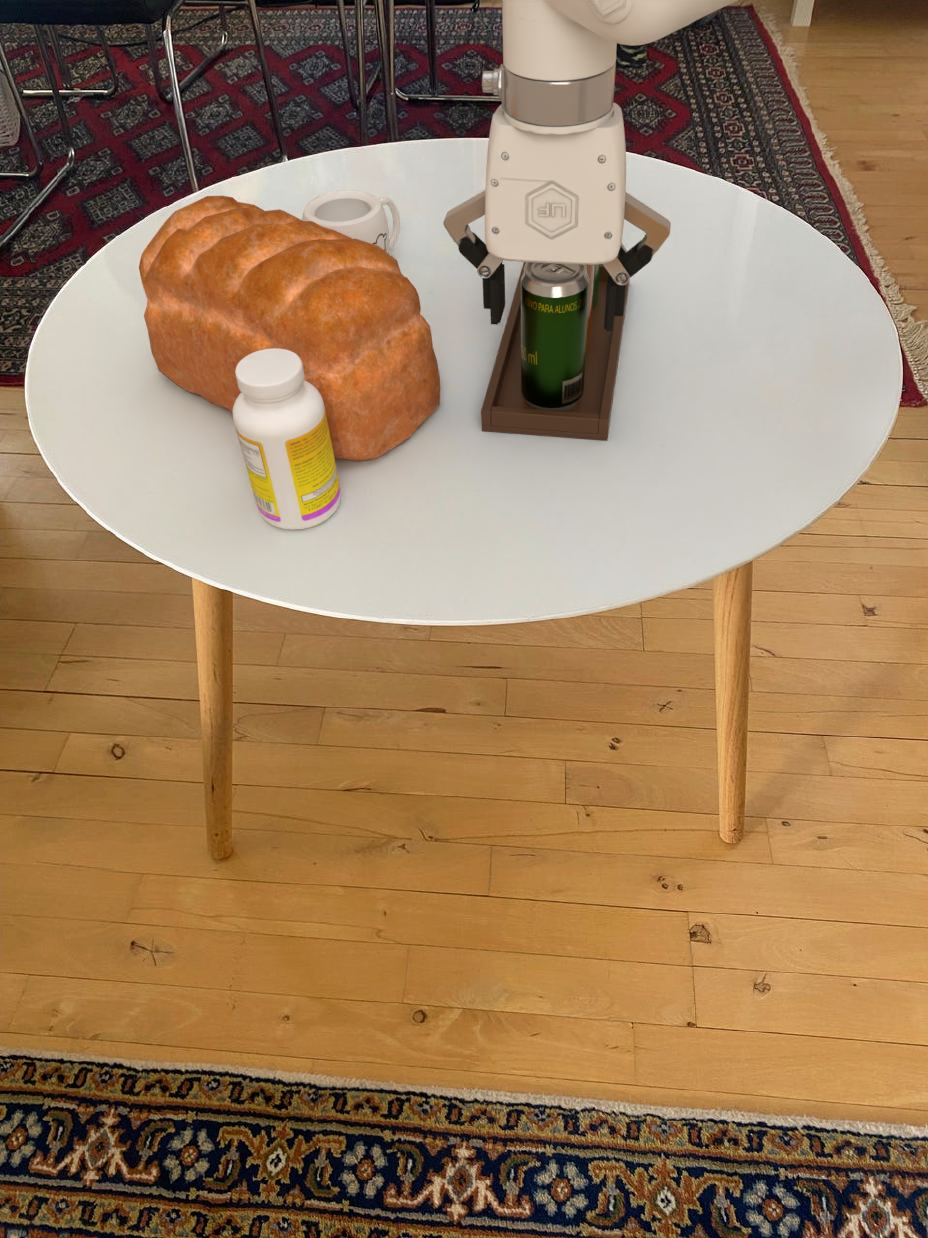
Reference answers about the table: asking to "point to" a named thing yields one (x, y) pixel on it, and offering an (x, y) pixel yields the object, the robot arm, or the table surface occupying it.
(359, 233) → the mug
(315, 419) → the supplement bottle
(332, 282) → the bread
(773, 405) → the table surface
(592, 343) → the tray
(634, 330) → the table surface
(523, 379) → the beer can
